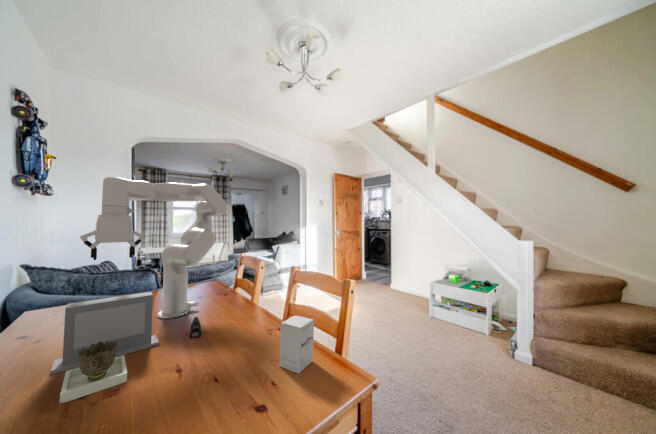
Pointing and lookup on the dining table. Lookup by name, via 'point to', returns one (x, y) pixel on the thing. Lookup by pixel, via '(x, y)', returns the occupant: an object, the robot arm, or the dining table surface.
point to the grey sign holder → (107, 326)
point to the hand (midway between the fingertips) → (113, 258)
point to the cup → (97, 359)
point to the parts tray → (81, 386)
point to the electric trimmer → (195, 329)
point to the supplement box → (296, 343)
